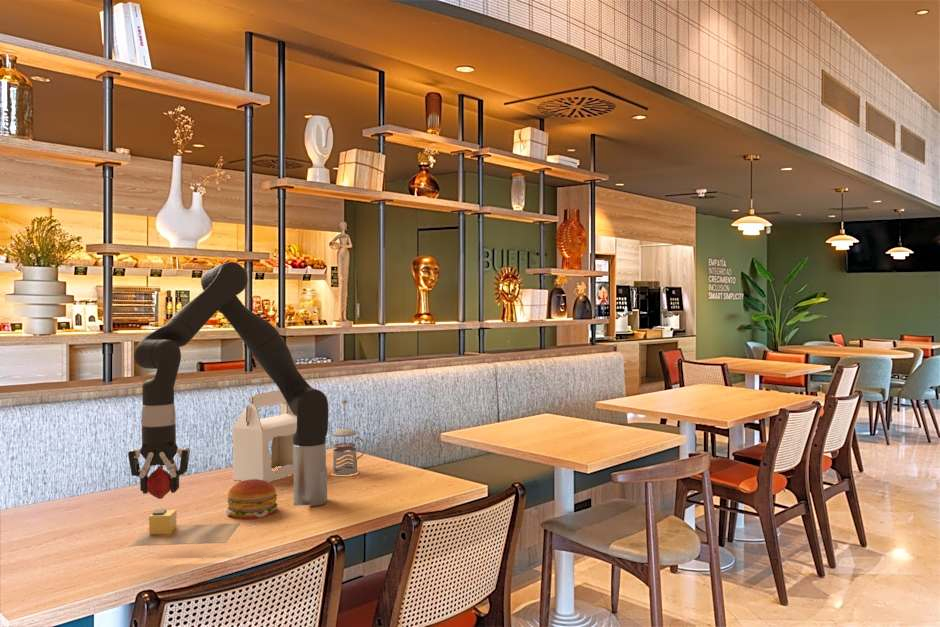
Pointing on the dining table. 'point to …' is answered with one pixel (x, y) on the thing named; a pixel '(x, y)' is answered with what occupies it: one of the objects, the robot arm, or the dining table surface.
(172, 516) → the yellow cube
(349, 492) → the dining table surface
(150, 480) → the onion
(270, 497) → the burger
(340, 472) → the french press
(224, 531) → the board
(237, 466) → the gable box
